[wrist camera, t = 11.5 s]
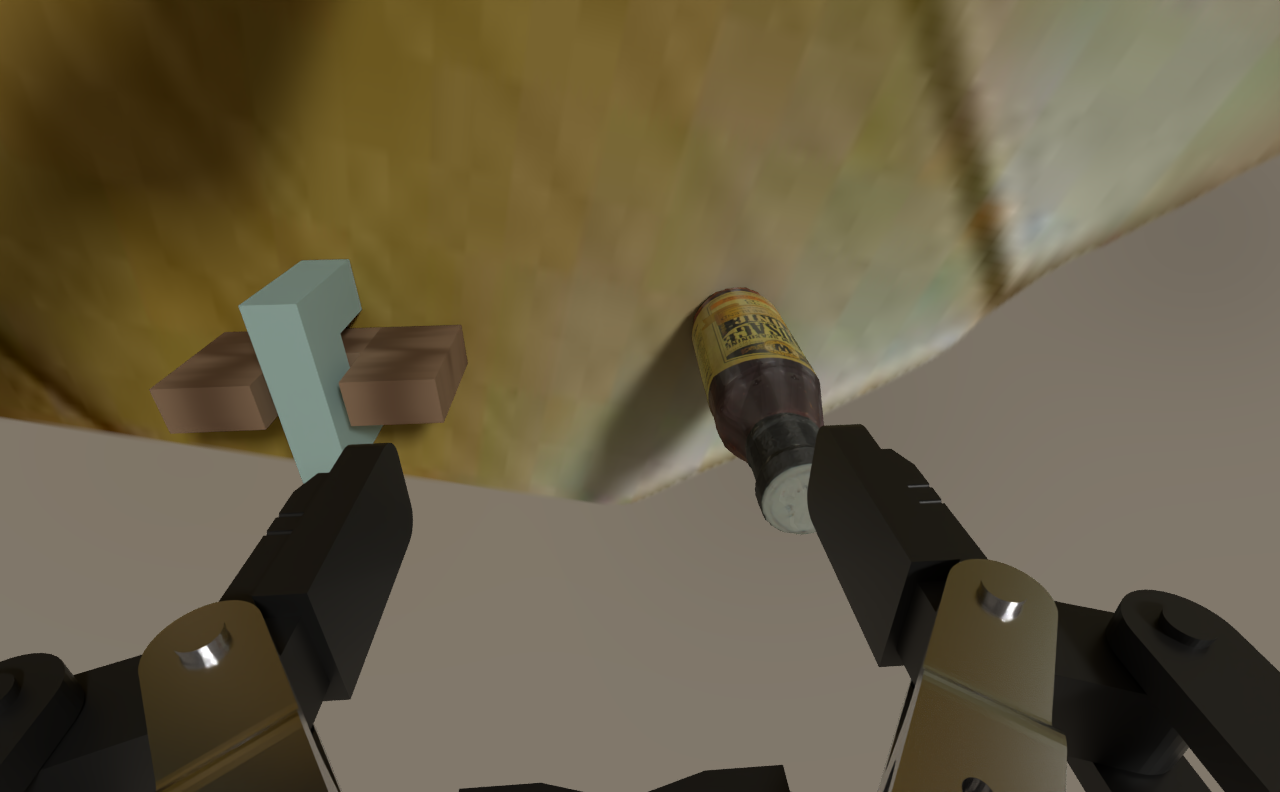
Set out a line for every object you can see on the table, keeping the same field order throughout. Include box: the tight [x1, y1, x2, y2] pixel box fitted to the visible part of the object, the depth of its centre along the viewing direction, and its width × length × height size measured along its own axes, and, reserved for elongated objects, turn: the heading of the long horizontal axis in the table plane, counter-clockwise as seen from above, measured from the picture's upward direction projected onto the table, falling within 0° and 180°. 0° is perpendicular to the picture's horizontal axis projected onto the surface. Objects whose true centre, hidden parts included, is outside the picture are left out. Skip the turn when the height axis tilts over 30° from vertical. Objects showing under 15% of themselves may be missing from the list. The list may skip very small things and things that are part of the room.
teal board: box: [239, 259, 383, 483], centre depth 38 cm, size 12×3×8 cm, turn 0°
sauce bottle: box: [692, 288, 824, 534], centre depth 34 cm, size 7×6×20 cm
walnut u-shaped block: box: [149, 325, 468, 433], centre depth 39 cm, size 16×3×8 cm, turn 90°
